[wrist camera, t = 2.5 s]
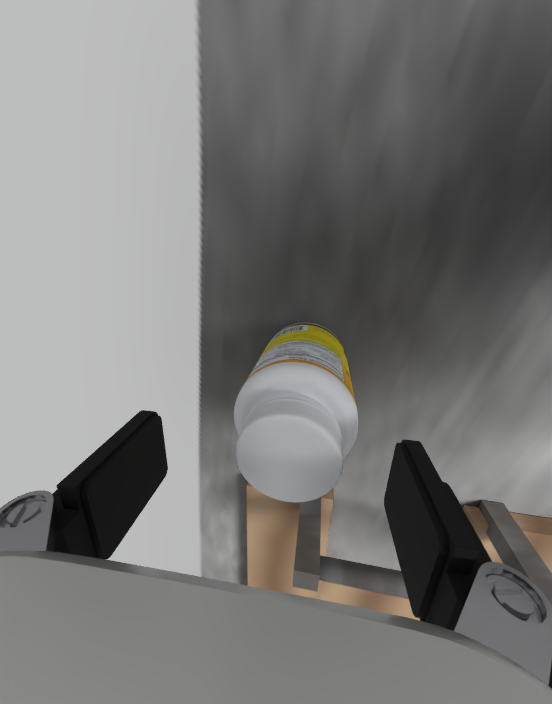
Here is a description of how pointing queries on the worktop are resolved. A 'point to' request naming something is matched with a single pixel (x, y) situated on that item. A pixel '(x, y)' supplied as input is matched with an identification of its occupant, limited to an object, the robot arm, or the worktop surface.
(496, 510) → the shelf board
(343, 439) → the supplement bottle
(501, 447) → the worktop surface
